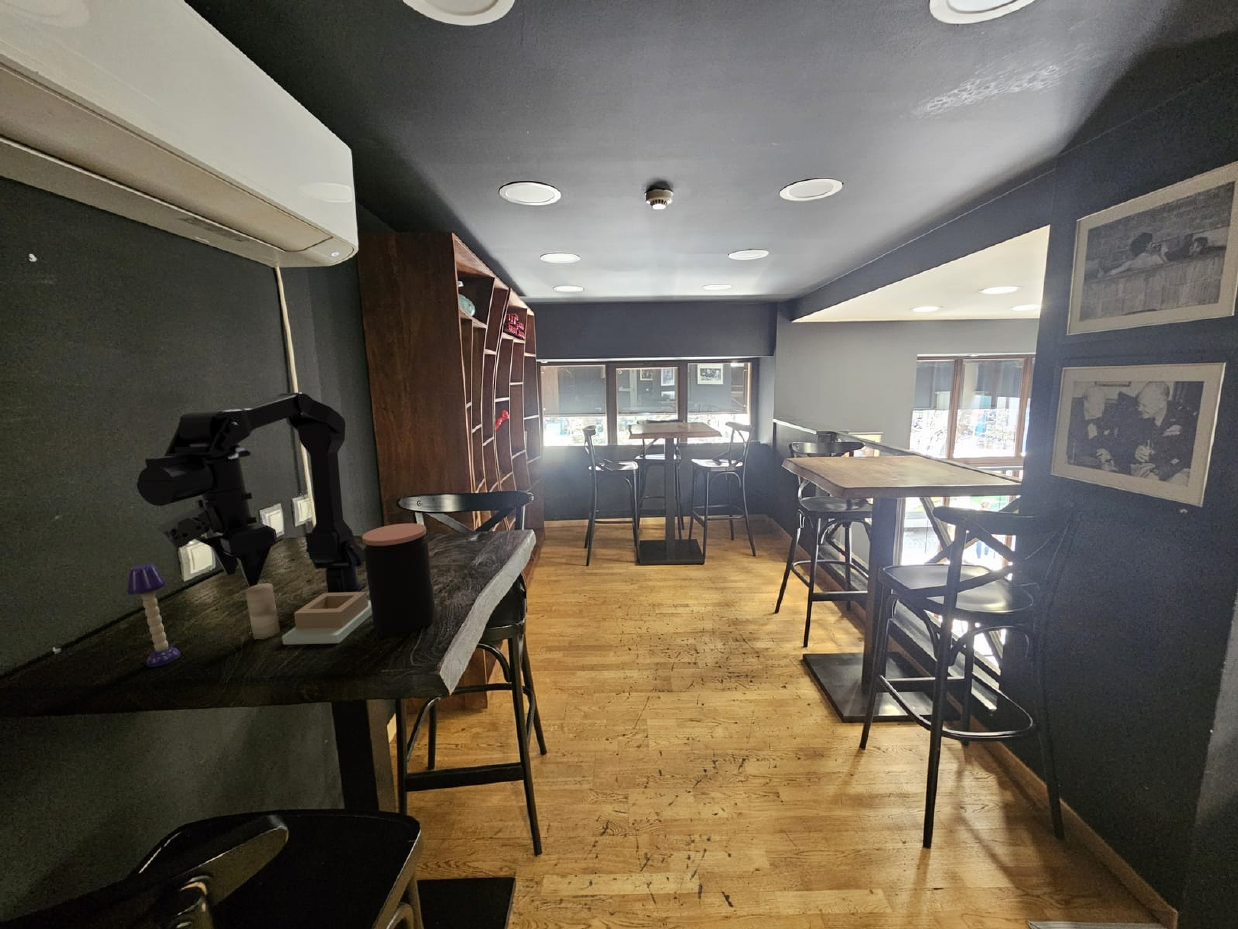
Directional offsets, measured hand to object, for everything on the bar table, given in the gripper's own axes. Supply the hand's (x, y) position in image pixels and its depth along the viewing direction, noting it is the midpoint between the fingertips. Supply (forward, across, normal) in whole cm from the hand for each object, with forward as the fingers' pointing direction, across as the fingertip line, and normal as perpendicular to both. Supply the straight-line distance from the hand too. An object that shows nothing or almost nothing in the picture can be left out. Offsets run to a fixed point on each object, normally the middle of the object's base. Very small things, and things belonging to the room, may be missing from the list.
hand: (241, 579), depth 82 cm
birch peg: (+13, -6, +4) cm, 15 cm away
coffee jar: (+14, +14, +19) cm, 27 cm away
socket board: (+13, +2, +12) cm, 18 cm away
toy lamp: (+13, -11, -10) cm, 20 cm away
